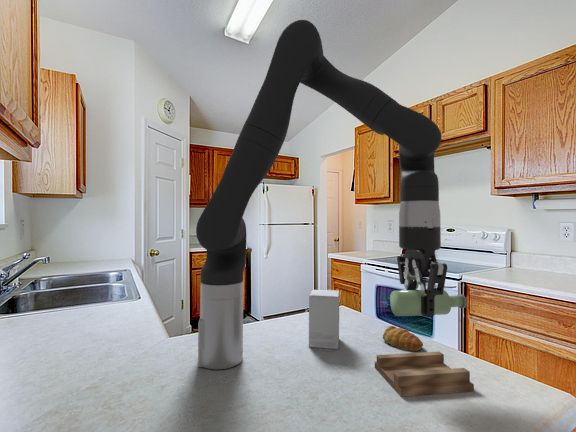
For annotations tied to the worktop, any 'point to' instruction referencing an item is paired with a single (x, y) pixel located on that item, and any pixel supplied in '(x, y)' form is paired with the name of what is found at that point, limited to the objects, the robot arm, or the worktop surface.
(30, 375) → the worktop surface
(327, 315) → the supplement box
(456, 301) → the bottle
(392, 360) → the cradle
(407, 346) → the pastry
